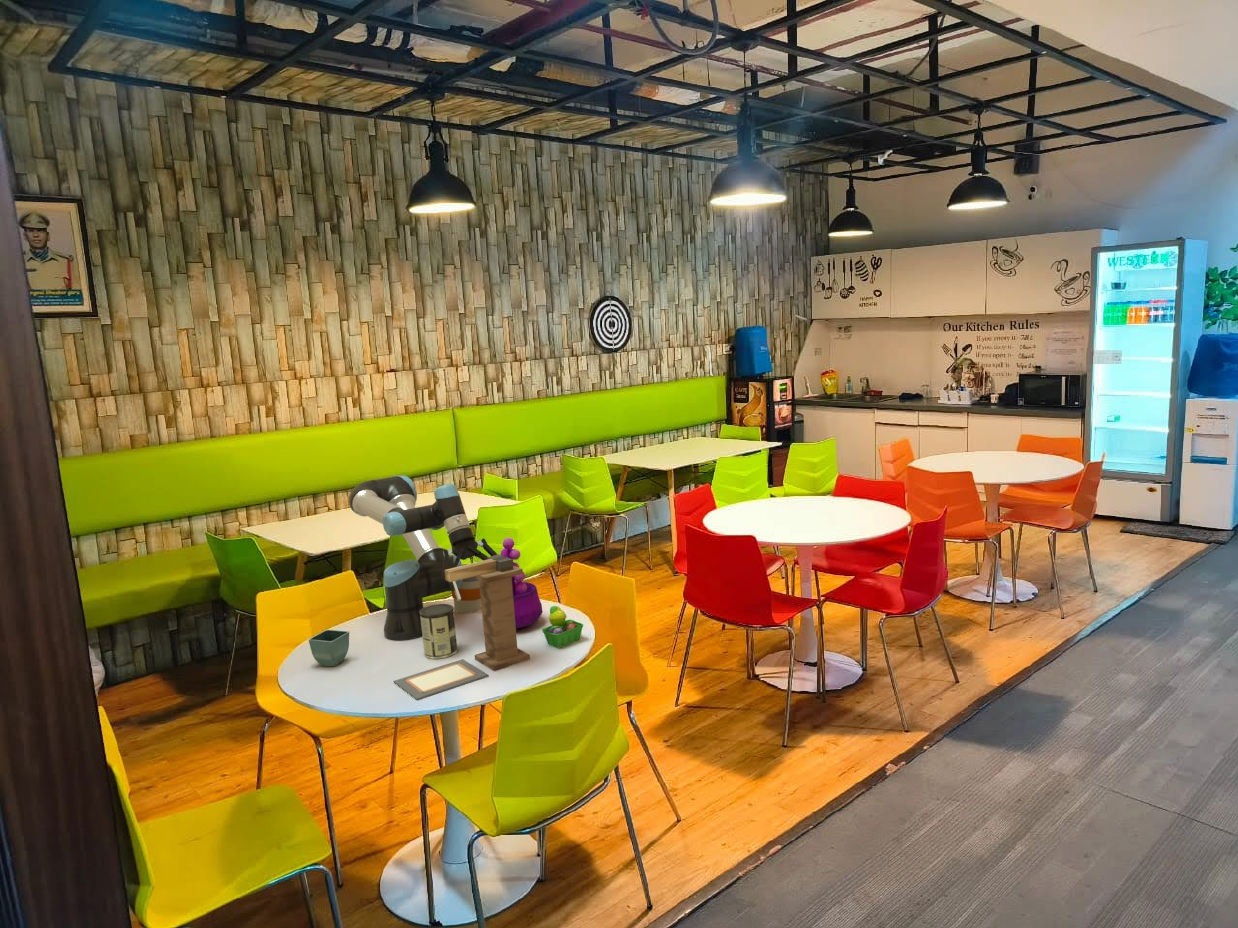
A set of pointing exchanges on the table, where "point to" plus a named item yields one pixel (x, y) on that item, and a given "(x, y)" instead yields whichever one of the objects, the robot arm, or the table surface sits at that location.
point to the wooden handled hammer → (479, 568)
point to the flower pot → (330, 647)
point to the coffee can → (438, 631)
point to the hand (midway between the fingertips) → (480, 593)
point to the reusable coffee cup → (468, 596)
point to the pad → (440, 679)
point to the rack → (499, 620)
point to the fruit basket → (561, 629)
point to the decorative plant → (522, 591)
